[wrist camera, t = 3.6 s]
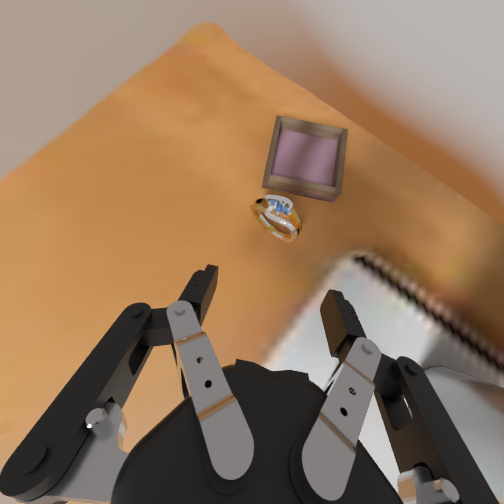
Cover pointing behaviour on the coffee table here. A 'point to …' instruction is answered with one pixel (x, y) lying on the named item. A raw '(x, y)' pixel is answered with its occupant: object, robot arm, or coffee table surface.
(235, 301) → the coffee table surface
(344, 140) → the jewellery tray
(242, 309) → the coffee table surface
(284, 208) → the ring
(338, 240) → the coffee table surface
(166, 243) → the coffee table surface
